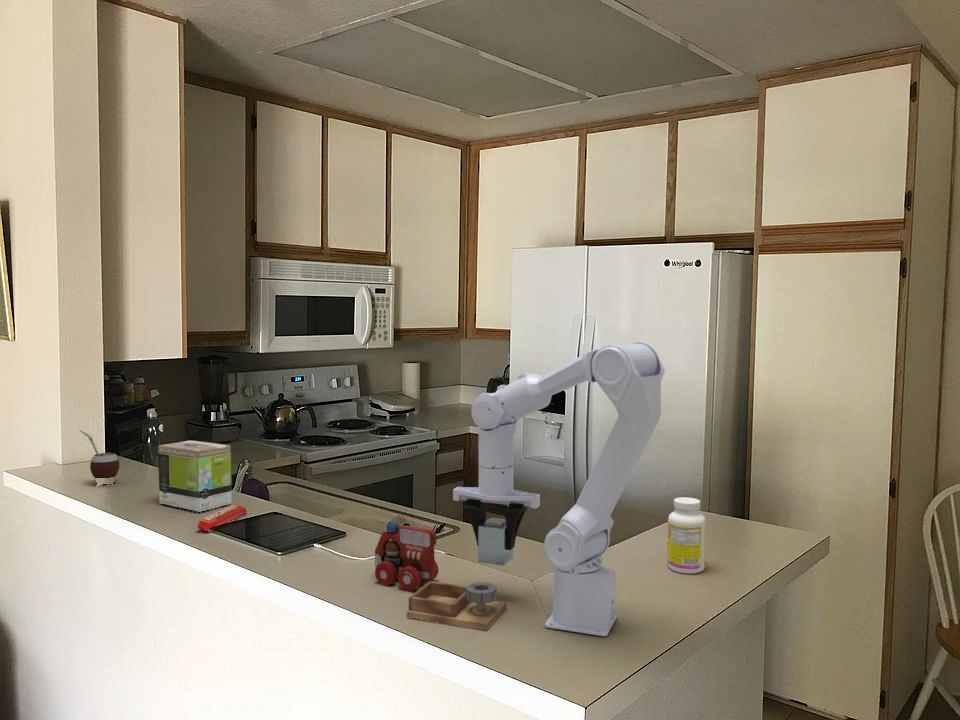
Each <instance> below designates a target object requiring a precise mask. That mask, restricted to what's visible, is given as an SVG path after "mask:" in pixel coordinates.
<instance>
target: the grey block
mask: <svg viewBox="0 0 960 720" xmlns="http://www.w3.org/2000/svg"><path fill="white" fill-rule="evenodd" d="M506 535H507V529H506V519H505V518H500V517H499V518H498V517H490V518H487V519H486V521H485V522H483V523H482V524H481V525H479V531H478V546H477V548H478V549H477V559H478V560H477V563H482V564H491V565H497V566H502V567H503V566H505V565H506V564H507V563H509V562H510V561H511V560H512V559H513V557H514V548H513V549H511V550H507V547H506Z"/></svg>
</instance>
